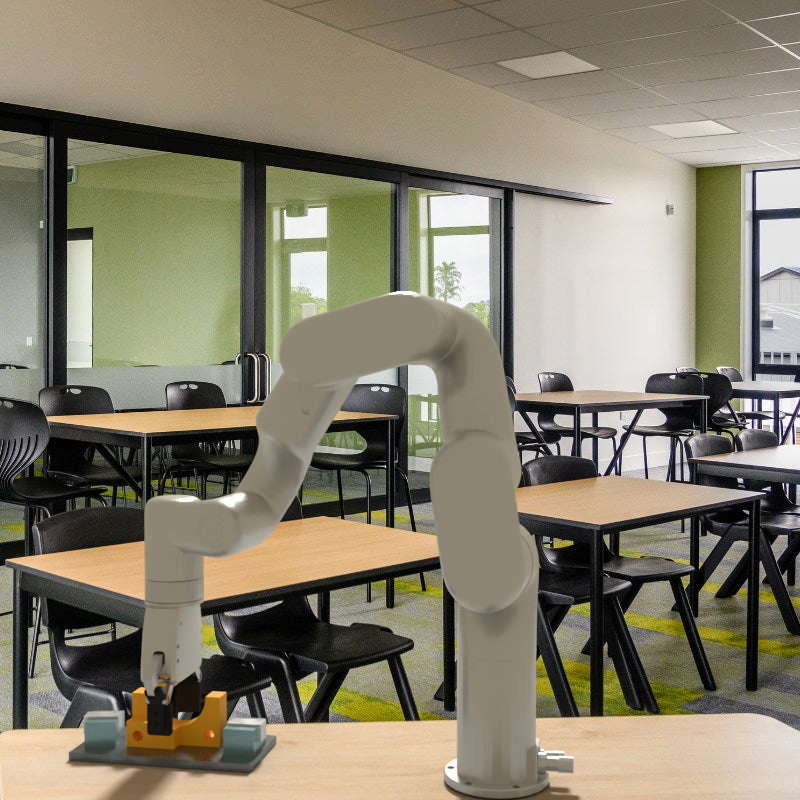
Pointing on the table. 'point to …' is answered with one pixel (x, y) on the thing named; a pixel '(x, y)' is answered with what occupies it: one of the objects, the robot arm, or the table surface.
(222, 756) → the workpiece vise
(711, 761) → the table surface
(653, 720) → the table surface
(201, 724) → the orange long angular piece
